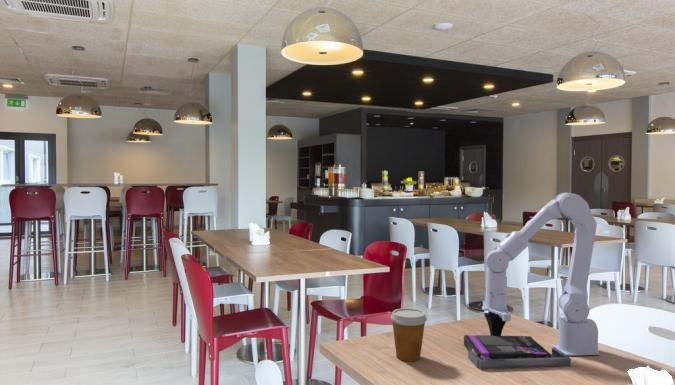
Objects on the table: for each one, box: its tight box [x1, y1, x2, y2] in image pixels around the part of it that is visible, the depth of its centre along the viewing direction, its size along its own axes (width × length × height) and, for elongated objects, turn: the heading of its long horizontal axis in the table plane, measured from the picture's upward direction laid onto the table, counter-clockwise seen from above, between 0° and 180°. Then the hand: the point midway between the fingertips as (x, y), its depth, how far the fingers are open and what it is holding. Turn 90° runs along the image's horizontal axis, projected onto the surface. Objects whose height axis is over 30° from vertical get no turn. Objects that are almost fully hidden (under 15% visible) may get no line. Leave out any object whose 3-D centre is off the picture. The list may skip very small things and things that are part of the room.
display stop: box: [467, 347, 572, 370], centre depth 125 cm, size 24×8×2 cm, turn 95°
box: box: [463, 334, 553, 360], centre depth 131 cm, size 14×4×20 cm
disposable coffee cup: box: [390, 307, 428, 362], centre depth 128 cm, size 10×10×12 cm
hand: (495, 338), depth 139 cm, fingers closed
